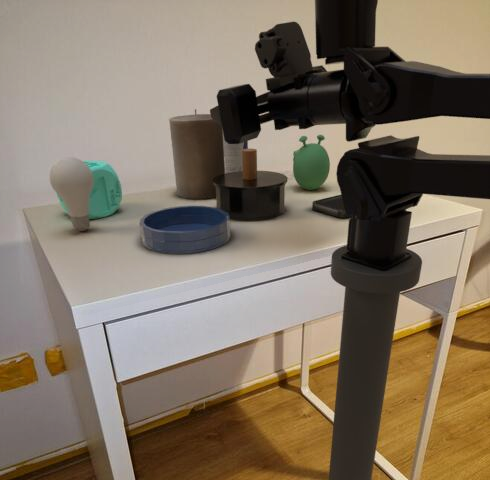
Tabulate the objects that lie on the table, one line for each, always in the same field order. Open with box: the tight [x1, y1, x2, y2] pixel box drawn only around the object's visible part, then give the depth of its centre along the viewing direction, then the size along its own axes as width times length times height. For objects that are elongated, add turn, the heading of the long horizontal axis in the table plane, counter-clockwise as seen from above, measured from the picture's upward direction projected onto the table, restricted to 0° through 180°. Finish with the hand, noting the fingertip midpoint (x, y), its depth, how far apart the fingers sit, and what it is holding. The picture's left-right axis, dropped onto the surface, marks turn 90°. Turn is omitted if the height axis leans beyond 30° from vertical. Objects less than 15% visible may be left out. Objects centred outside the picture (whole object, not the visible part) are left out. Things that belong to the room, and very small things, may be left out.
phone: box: [311, 194, 352, 219], centre depth 80 cm, size 8×1×15 cm
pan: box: [139, 205, 232, 255], centre depth 68 cm, size 13×13×3 cm
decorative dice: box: [56, 160, 123, 220], centre depth 79 cm, size 8×8×8 cm
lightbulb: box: [49, 156, 94, 232], centre depth 70 cm, size 6×6×11 cm
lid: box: [213, 148, 288, 191], centre depth 76 cm, size 12×12×6 cm
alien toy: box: [292, 134, 331, 191], centre depth 89 cm, size 7×8×10 cm
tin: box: [215, 184, 286, 222], centre depth 79 cm, size 11×11×5 cm
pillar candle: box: [168, 108, 225, 200], centre depth 87 cm, size 10×10×15 cm
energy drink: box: [222, 129, 249, 173], centre depth 98 cm, size 5×5×12 cm
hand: (235, 106), depth 67 cm, fingers open, 9 cm apart
